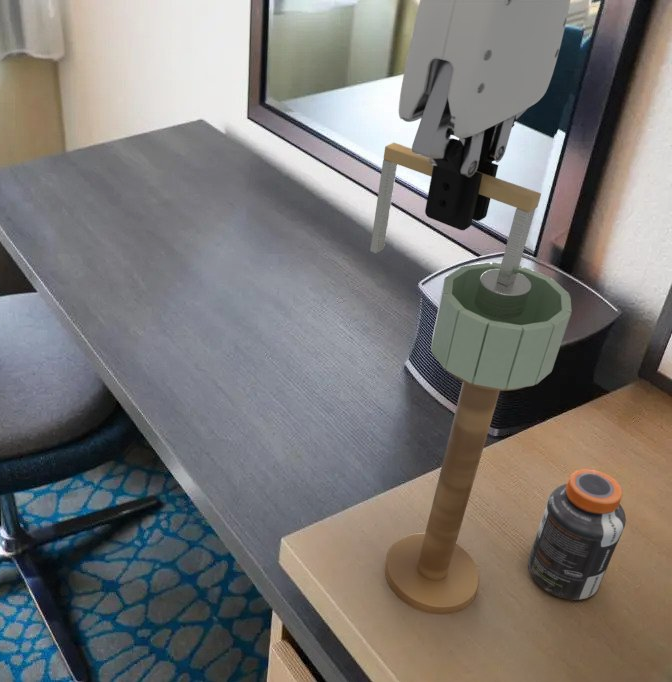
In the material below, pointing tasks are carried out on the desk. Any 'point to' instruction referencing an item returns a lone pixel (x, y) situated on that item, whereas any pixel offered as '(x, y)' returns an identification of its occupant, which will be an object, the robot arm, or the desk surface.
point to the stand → (446, 517)
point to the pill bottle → (578, 535)
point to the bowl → (499, 331)
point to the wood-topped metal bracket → (505, 283)
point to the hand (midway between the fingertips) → (454, 216)
